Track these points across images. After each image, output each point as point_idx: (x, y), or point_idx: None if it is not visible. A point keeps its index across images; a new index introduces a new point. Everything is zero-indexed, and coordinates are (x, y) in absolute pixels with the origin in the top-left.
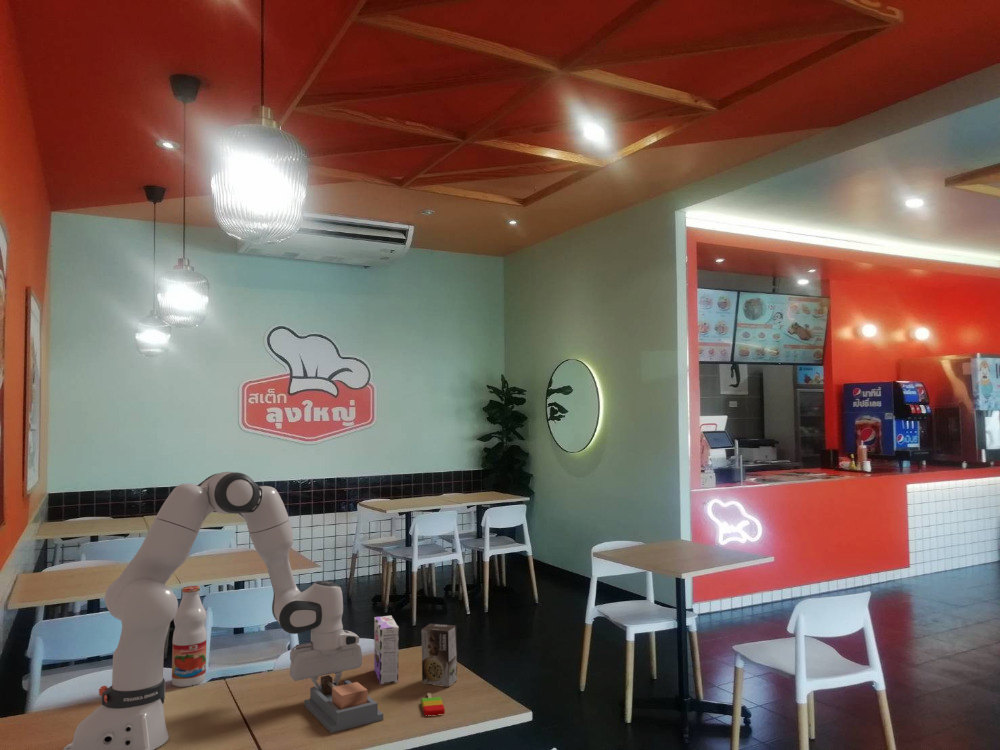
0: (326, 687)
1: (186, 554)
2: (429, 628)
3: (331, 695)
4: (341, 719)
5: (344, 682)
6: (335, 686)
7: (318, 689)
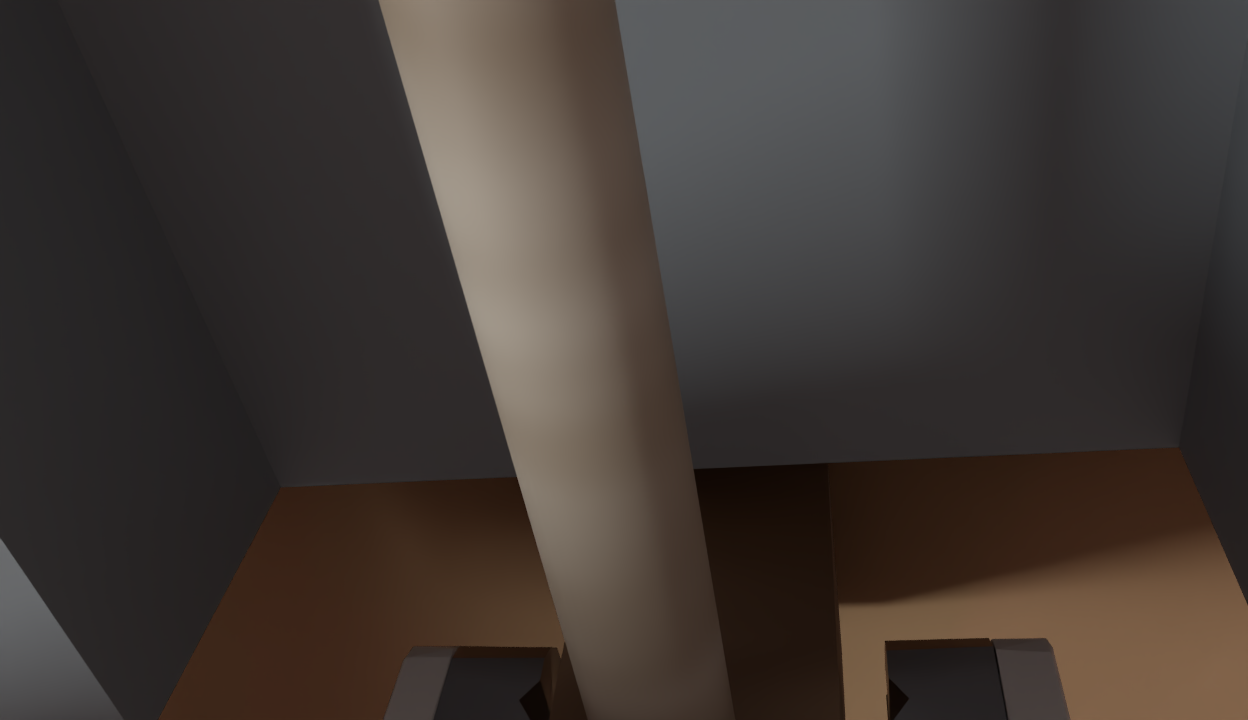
0: (756, 681)
1: None
2: None
3: None
4: None
5: (135, 656)
6: (497, 226)
7: (1010, 695)
